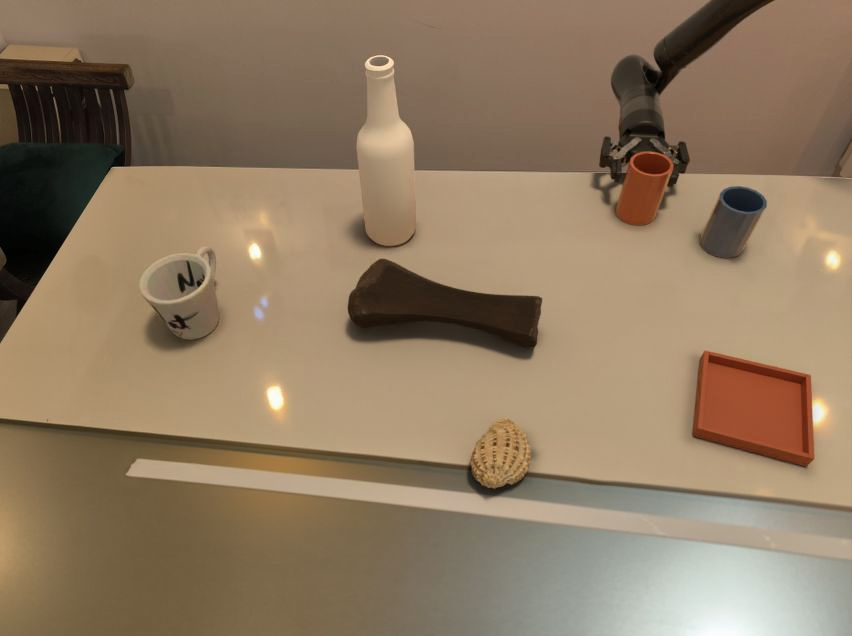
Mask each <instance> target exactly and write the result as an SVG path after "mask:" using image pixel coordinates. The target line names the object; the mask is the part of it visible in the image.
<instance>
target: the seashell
mask: <svg viewBox="0 0 852 636" xmlns="http://www.w3.org/2000/svg"><path fill="white" fill-rule="evenodd" d="M531 452H532V451H531V445H530V442H529V439H528V436H527V435H526V433H525V431H524V430H522V429H521V428H520V427H519V426H518V425H516V423H515V422H514V421H513V420H512V419H510V418H507V417H503V418H502V419H499V420H496V421H495V422H493V423H492V425H491V426H489V428H488V430H487V431H486V433H484V434H483V435H482V436H481V438H480V439H479V440H477V441H476V442H475V444H474V449H473V451H472V453H471V456H470V467H471V474H472V476H473V477H474V479H475V481H477V482H479V483H480V485H481V486H484V487H487V489H489V488H490V489H491V488H492V489H493V490H495V489H497V488H502V487H504V486H505V485H511V486H512V485H514V484H517V483H519V482H520V481H521V480H523V479H524V477H525V476H526V475H527V472H528V470H529V468H530V464H531V455H532V453H531Z"/></svg>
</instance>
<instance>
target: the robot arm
mask: <svg viewBox="0 0 852 636" xmlns="http://www.w3.org/2000/svg"><path fill="white" fill-rule="evenodd" d="M775 1H776V0H709V1H707V2H706V3H705V4H703V5H702V6H701V7H700V8H698V9H697V10H695V12H693V13H692V14H690V15H689V16H688V17H687V18H686V19H684V20H683V21H682V22H681V23H679V24H678V25H677V26H676V27H675V28H673V29H672V30H671V31H670V32H668V33H667V34H665V36H663V37H662V38H661V39H660V40H658V42H657V43H656V44H655V45H654V48H653V53H652V55H653V59H654V62H655V63H656V65H657V67H658V69H657V68H656V67H654V65H652V64H651V63H650V62H649V61H647V59H645V58H644V57H643V56H642V55H639V54H634V53H633V54H628V55H625V56H624V57H622V58H621V59H620V60H618V62H617V63H616V65H615V66H614V67H613V69H612V73H611V75H610V87H611V90H612V93H613V95H614V97H615V100H616V101H617V103H618V105H619V120H618V134H619V135H618V136H619V137H618V139H619V141H614V140H613V141H612V137H610V136H608V135H607V136H604V137H603V140H602V143H601V148H600V155H599V164H598V166H599V168H602V169H605V168H609V170H610V179H611V180H612V181H613V180H614V183H615V184H619V183H620V181H621V177H622V171H623V170H622V169H623V168H624V167H626V166H627V165H629V163H630V159H631V157H633V156H634V155H635V154H637V153H640V152H648V151H650V152H657V153H660V154H663V155H665V156H667V157H668V158H669V159H671V161H672V163H673V164H674V166H673V171H672V173H671V176H670V179H669V181H668V184H667V187H666V188H673V186H674V185H677V182H678V180H679V177H680V174H681V175H683V174H686V172H687V168H688V166H689V163H690V162H691V159H690V155H689V151H688V146H687V143H686V142H685V141H683V140H681V141H678V143H677V145H676V144H669V143H668V142H667V141H666V130H665V122H664V114H663V110H662V108H661V102H660V101H661V99H660V97H661V96H662V94H663V93H664V92H665V90H666V89H667V88H668V87H669V86H670V84H671V83H672V82H673V81H674V80H675V79H676V78H677V77H678V75H680V74H681V73H682V72H683V71H684V70H685V69H687V68H688V67H689V66H690V65H692V64H694V63H695V62H697V60H699V59H700V58H701V57H703V56H704V55H705V54H707V53H708V52H709V51H711V50H712V49H713V48H714V47H716V46H717V45H718V44H719V43H720V42H721V41H722V40H723V39H724V38H726V37H727V35H728V34H729V33H730V32H731V31H733V30H734V29H735V28H736V27H737V26H738V25H739V24H741V23H742V22H744V21H745V20H746V19H747V18H749V17H750V16H751V15H754V13H756V12H757V11H759V10H761V9H762V8H764V7H766V6H768V5H769V4H771V3H773V2H775ZM614 150H616V151H617V152H616V153H614V154H613V155H611V153H613V152H614Z"/></svg>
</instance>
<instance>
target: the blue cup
mask: <svg viewBox="0 0 852 636" xmlns="http://www.w3.org/2000/svg"><path fill="white" fill-rule="evenodd" d="M767 206H768V201H767V199H766V198H765V195H763V194H762V193H760V192H759V191H758V190H756V189H753V188H750V187H747V186H741V185H735V186H729V187H726V188H724V189H722V191H720V192H719V194H718V196H717V199H716V201H715V204H714V205H713V208H712V210H711V212H710V215H709V216H708V219H707V221H706V223H705V225H704V227H703V229H702V231H701V234H700V237H699V245H700V247H701V248H702V249H703V250H704V251H705V252H707V253H708V254H710V255H711V256H714V257H717V258H720V259H721V258H723V259H732V258H736V257H738V256H740V255H741V254H742V253H743V251H744V249H745V248H746V246H747V244H748V242H749V240H750V239H751V236H752V235H753V233H754V231H755V229H756V227H757V225H758V223H759V222H760V220H761V218H762V217H763V215H764V212H765V211H766V209H767Z"/></svg>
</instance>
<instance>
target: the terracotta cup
mask: <svg viewBox="0 0 852 636" xmlns="http://www.w3.org/2000/svg"><path fill="white" fill-rule="evenodd" d="M673 166H674V164H673V163H672V161H671V159H669V158H668V157H667V156H665V155H663V154H660V153H657V152H650V151H648V152H640V153H637V154H635V155H634V156H633V157H631V159H630V163H629V164H628V167H627V170H626V173H625V177H624V178H623V179H624V180H623V183H622V186H621V190H620V193H619V196H618V200H617V203H616V206H615V215H616V217H618V219H619V220H620V221H622V222H624V223H626V224H628V225H633V226H645V225H648V224H650V223H652V222H653V221H654V220H655V218H656V217H657V214H658V212H659V208H660V206H661V204H662V200H663V198H664V195H665V192H666V191H667V188H668V187H667V184H668V181H669V179H670V176H671V173H672V171H673Z"/></svg>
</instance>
